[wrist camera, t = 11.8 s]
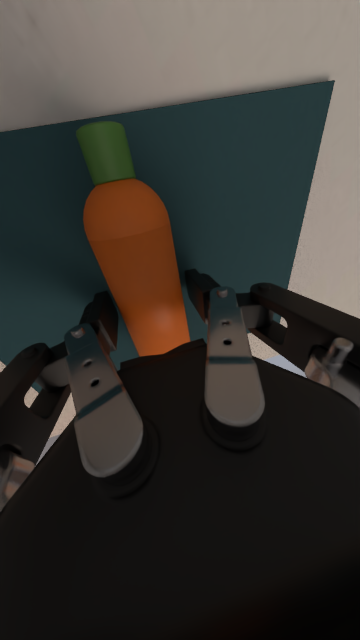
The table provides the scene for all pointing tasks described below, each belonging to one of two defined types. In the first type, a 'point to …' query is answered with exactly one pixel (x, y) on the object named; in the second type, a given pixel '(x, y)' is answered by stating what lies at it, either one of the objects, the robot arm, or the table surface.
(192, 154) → the cloth
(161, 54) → the table surface
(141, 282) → the carrot
